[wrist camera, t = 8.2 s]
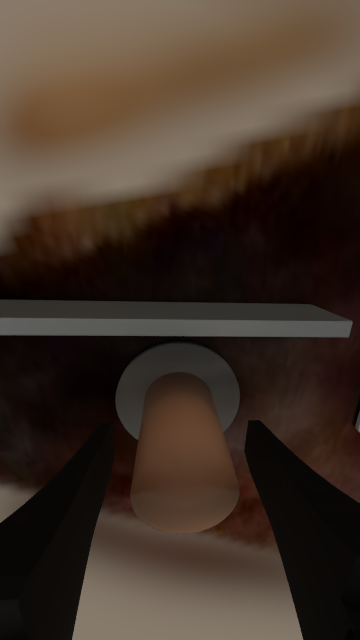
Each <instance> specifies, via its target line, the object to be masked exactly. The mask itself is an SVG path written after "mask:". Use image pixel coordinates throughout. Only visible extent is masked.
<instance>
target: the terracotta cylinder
mask: <svg viewBox="0 0 360 640" xmlns="http://www.w3.org/2000/svg"><path fill="white" fill-rule="evenodd" d="M239 490H240V489H239V483H238V480H237V476H236V473H235V470H234V467H233V463H232V460H231V457H230V453H229V450H228V447H227V443H226V440H225V437H224V433H223V430H222V427H221V423H220V420H219V417H218V413H217V410H216V407H215V403H214V400H213V397H212V394H211V391H210V389H209V387H208V385H207V384H206V383H205V382H204V381H203V380H202V379H201V378H199V377H197V376H195V375H193V374H190V373H185V372H174V373H169V374H166V375H163V376H161V377H160V378H158V379H156V380H155V381H154V382H153V383H152V384H151V385H150V386H149V388H148V390H147V391H146V394H145V398H144V404H143V411H142V418H141V425H140V432H139V439H138V446H137V453H136V460H135V466H134V473H133V480H132V487H131V496H130V499H131V505H132V508H133V510H134V512H135V514H136V515H137V516H138V517H139V518H140V519H141V520H142V521H143V522H144V523H145V524H147V525H148V526H150V527H152V528H154V529H157V530H159V531H163V532H167V533H175V534H187V533H194V532H199V531H202V530H205V529H208V528H211V527H213V526H215V525H216V524H218V523H220V522H221V521H222V520H224V519H225V518H226V517H227V516H228V515H229V514H230V513H231V512H232V510H233V509H234V507H235V506H236V504H237V501H238V498H239Z"/></svg>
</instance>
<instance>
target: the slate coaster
mask: <svg viewBox="0 0 360 640" xmlns="http://www.w3.org/2000/svg"><path fill="white" fill-rule="evenodd" d="M174 372H185V373H190V374H193V375H195V376H197V377H199V378H201V379H202V380H203V381H204V382H205V383H206V384H207V385H208V387H209V389H210V391H211V394H212V397H213V400H214V403H215V407H216V410H217V413H218V417H219V420H220V423H221V427H222V430H223V433H224V432H225V431H226V429H227V428H228V427H229V426H230V424H231V423H232V422H233V420H234V418H235V416H236V414H237V411H238V407H239V402H240V391H239V385H238V382H237V379H236V377H235V375H234V373H233V371H232V369H231V367H230V366H229V364H228V362H227V361H226V360H225V359H224V358H223V357H222V356H221V355H220V354H219V353H218V352H216V351H215V350H213V349H212V348H210V347H208V346H206V345H204V344H201V343H198V342H194V341H189V340H169V341H164V342H160V343H157V344H154V345H152V346H150V347H147V348H146V349H144V350H143V351H141V352H140V353H138V354H137V355H136V356H135V357H134V358H133V359H132V360H131V361H130V362H129V363H128V365H127V366H126V367H125V369H124V371H123V373H122V375H121V378H120V381H119V384H118V387H117V391H116V410H117V413H118V416H119V418H120V421H121V423H122V424H123V426H124V427H125V429H126V430H127V431H128V432H129V433H130V434H131V435H132V436H133V437H134V438H136V439H137V440H138V439H139V432H140V425H141V418H142V411H143V404H144V398H145V394H146V391H147V390H148V388H149V386H150V385H151V384H152V383H153V382H154V381H155V380H156V379H158V378H160V377H161V376H163V375H166V374H169V373H174Z"/></svg>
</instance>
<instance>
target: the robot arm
mask: <svg viewBox="0 0 360 640" xmlns="http://www.w3.org/2000/svg"><path fill="white" fill-rule="evenodd" d="M355 427H356V429H357V430H358V431H359V432H360V412H359V415H358V418H357V422H356V425H355ZM244 451H245V455H246V459H247V463H248V466H249V470H250V473H251V475H252V478H253V481H254V483H255V486H256V488H257V491H258V493H259V496H260V498H261V501H262V503H263V506H264V508H265V511H266V513H267V516H268V518H269V521H270V524H271V527H272V529H273V533H274V536H275V539H276V542H277V546H278V549H279V552H280V555H281V559H282V562H283V566H284V569H285V573H286V576H287V580H288V583H289V587H290V591H291V594H292V598H293V602H294V605H295V609H296V612H297V617H298V620H299V624H300V628H301V632H302V636H303V640H360V503H358V502H357V501H355V500H354V499H352V498H351V497H349V496H348V495H346V494H345V493H343V492H342V491H340V490H339V489H337V488H336V487H335V486H333V485H332V484H330V483H329V482H328V481H327V480H325V479H324V478H323V477H321V476H320V475H319V474H317V473H316V472H315V471H314V470H312V469H311V468H310V467H309V466H308V465H306V464H305V463H304V462H303V461H302V460H301V459H299V458H298V457H297V456H296V455H295V454H294V453H293V452H292V451H291V450H289V449H288V448H287V447H286V446H285V445H284V444H283V443H282V442H281V441H280V440H279V439H278V438H277V437H276V436H275V435H274V434H273V433H272V432H271V431H270V430H269V429H268V428H267V427H266V426H265V425H264V424H263V423H262V422H261V421H260V420H248V428H247V435H246V442H245V450H244ZM114 454H115V452H114V437H113V423H112V422H104V423H100V424H98V426H97V427H96V428H95V430H94V431H93V432H92V434H91V435H90V436H89V438H88V439H87V440H86V441H85V443H84V444H83V445H82V446H81V447H80V449H79V450H78V451H77V452H76V453H75V454H74V456H73V457H72V458H71V459H70V460H69V461H68V462H67V463H66V464H65V466H64V467H63V468H62V469H61V470H60V471H59V472H58V473H57V474H56V475H55V476H54V477H53V478H52V479H51V480H50V481H49V482H48V483H47V484H46V485H45V486H44V487H43V488H42V489H41V490H40V491H38V492H37V493H36V494H35V495H34V496H33V497H32V498H31V499H29V500H28V501H27V502H26V503H25V504H24V505H22V506H21V507H20V508H19V509H18V510H16V511H15V512H14V513H13V514H12V515H10V516H9V517H8V518H6V519H5V520H4V521H2V522H1V523H0V640H72V636H73V631H74V625H75V621H76V615H77V610H78V605H79V600H80V594H81V589H82V585H83V580H84V575H85V570H86V565H87V561H88V555H89V551H90V547H91V541H92V537H93V533H94V529H95V526H96V523H97V519H98V516H99V513H100V509H101V506H102V502H103V499H104V496H105V492H106V489H107V486H108V482H109V479H110V475H111V470H112V465H113V460H114Z"/></svg>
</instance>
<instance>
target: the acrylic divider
mask: <svg viewBox="0 0 360 640" xmlns="http://www.w3.org/2000/svg"><path fill="white" fill-rule="evenodd" d="M352 323H353V321H351V320H348V319H346V318H343V317H341V316H338V315H336V314H333V313H331V312H328V311H326V310H324V309H321V308H319V307H316V306H314V305H311V304H265V303H197V302H128V301H60V300H0V335H88V336H243V337H349V335H350V331H351V327H352Z"/></svg>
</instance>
